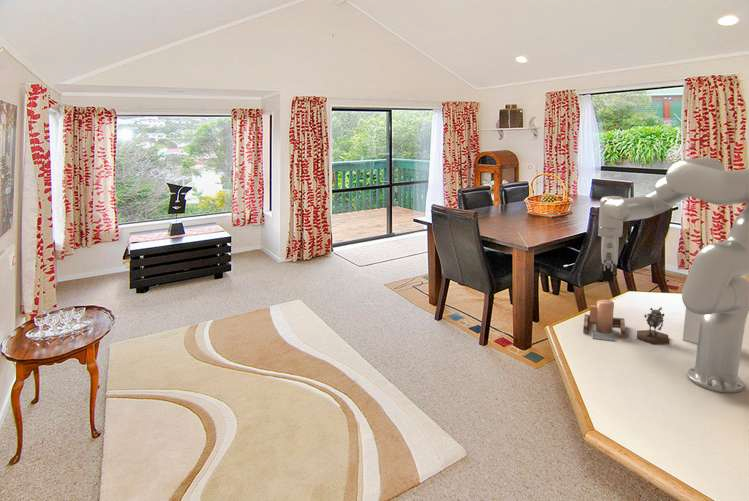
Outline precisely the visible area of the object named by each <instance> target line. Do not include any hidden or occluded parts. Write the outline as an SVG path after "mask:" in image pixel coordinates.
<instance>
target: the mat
mask: <svg viewBox="0 0 749 501" xmlns="http://www.w3.org/2000/svg"><path fill="white" fill-rule="evenodd" d="M592 339H593V340H599V341H607V342H614V341H615V342H616V335H615V334H610V333H601V332H592Z"/></svg>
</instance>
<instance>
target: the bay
mask: <svg viewBox="0 0 749 501" xmlns="http://www.w3.org/2000/svg"><path fill="white" fill-rule="evenodd" d="M588 324H596V322H590V314H584V317H583V328H582V329H583V330H582V331H583V332H582V333H583V334H588ZM613 325H616V327H619V328H620V339H626V334H627V333H626V332H627V330H626V323H625V318H624V317H623V318H621V317H615V316H613ZM613 325H612V326H613Z"/></svg>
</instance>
